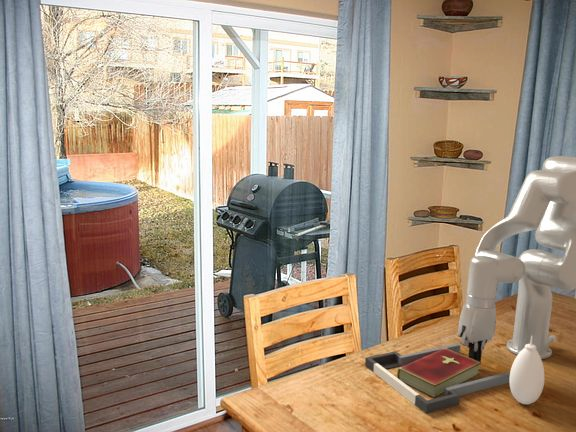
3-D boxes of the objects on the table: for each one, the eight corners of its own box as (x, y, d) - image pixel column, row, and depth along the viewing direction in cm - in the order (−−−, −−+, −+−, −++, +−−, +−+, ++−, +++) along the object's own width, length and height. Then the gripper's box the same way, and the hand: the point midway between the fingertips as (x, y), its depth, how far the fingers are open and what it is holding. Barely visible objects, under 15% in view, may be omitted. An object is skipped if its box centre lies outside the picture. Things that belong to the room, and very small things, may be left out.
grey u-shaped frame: (450, 347, 164) (450, 339, 164) (519, 387, 141) (520, 378, 141) (365, 365, 151) (365, 357, 151) (426, 413, 128) (426, 404, 127)
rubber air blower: (512, 391, 139) (520, 326, 136) (544, 401, 134) (553, 335, 131) (502, 403, 133) (510, 336, 130) (536, 414, 128) (544, 345, 125)
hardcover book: (396, 380, 144) (397, 366, 143) (442, 359, 157) (444, 346, 156) (434, 399, 135) (435, 384, 134) (479, 375, 148) (481, 361, 147)
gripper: (490, 293, 154) (483, 352, 157) (450, 299, 148) (444, 361, 151) (510, 301, 147) (503, 363, 151) (470, 308, 141) (463, 372, 145)
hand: (474, 361), depth 151 cm, fingers closed
